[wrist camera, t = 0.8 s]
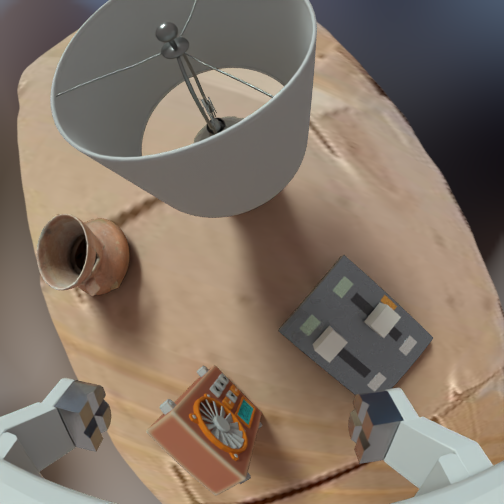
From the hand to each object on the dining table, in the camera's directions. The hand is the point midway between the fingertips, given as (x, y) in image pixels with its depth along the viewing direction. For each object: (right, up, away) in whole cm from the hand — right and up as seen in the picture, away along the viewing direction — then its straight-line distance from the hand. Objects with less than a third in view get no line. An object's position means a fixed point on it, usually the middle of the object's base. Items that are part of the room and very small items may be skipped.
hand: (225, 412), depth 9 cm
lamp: (-1, +17, +46) cm, 49 cm away
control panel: (-4, -21, +43) cm, 48 cm away
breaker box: (+19, -9, +41) cm, 46 cm away
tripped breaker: (+21, -6, +38) cm, 44 cm away
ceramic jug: (-29, +4, +49) cm, 56 cm away
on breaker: (+13, -9, +39) cm, 42 cm away
